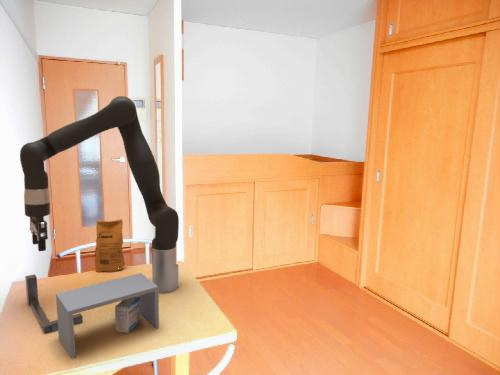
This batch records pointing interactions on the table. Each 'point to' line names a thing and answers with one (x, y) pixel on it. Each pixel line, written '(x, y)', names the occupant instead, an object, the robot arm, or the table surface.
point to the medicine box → (127, 314)
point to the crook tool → (42, 318)
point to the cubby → (105, 303)
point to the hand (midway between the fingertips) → (39, 247)
